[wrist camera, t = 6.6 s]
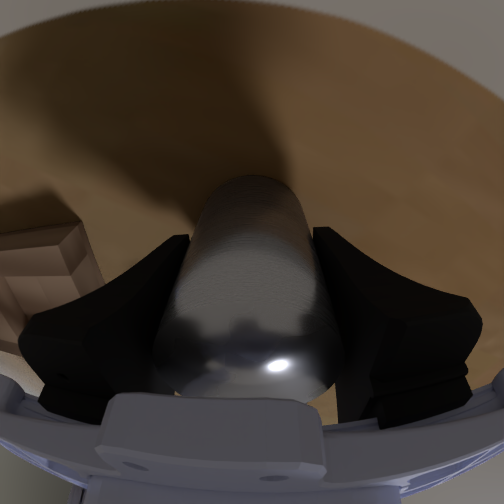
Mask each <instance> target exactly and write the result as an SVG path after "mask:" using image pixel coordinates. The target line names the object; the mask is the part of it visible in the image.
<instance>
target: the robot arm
mask: <svg viewBox="0 0 504 504" xmlns="http://www.w3.org/2000/svg"><path fill="white" fill-rule="evenodd" d="M313 242H314V246H315V249H316V252H317V255H318V258H319V262H320V265H321V268H322V272H323V275H324V278H325V282H326V285H327V289H328V292H329V296H330V299H331V303H332V306H333V310H334V313H335V317H336V321H337V325H338V328H339V332H340V336H341V340H342V344H343V348H344V352H345V362H344V367H343V369H342V372H341V374H340V376H339V377H338V379H337V380H336V382H335V388H336V399H337V411H338V424H333V425H325V426H322V422H321V418H320V416H319V413H318V411H317V409H315V408H313V407H312V406H309V405H307V404H304V403H301V402H299V401H296V400H294V399H282V398H269V397H258V398H216V397H191V396H176V395H174V393H175V390H173V389H172V388H171V387H170V386H169V385H168V384H167V383H166V382H165V381H164V380H163V379H162V378H161V376H160V375H159V373H158V372H157V370H156V367H155V365H154V362H153V357H152V348H153V344H154V340H155V337H156V334H157V331H158V328H159V325H160V322H161V320H162V317H163V314H164V311H165V308H166V305H167V302H168V299H169V297H170V294H171V291H172V288H173V286H174V283H175V280H176V277H177V275H178V272H179V269H180V267H181V264H182V261H183V259H184V256H185V253H186V251H187V248H188V246H189V243H190V239H189V234H184V235H174V236H172V237H170V238H169V239H167V240H166V241H165V242H164V243H162V244H161V245H160V246H158V247H157V248H156V249H155V250H153V251H152V252H151V253H150V254H148V255H147V256H146V257H145V258H143V259H142V260H141V261H139V262H138V263H137V264H135V265H134V266H133V267H131V268H130V269H129V270H127V271H126V272H124V273H123V274H122V275H120V276H118V277H117V278H115V279H114V280H112V281H110V282H109V283H107V284H105V285H104V286H102V287H100V288H98V289H96V290H94V291H92V292H90V293H88V294H87V295H85V296H82V297H80V298H78V299H76V300H73V301H71V302H68V303H66V304H63V305H61V306H58V307H55V308H52V309H49V310H46V311H43V312H40V313H36V314H34V315H33V316H32V317H31V319H30V320H29V322H28V323H27V325H26V326H25V328H24V329H23V331H22V332H21V334H20V335H19V338H18V340H17V341H18V347H19V350H20V352H21V354H22V356H23V357H24V359H25V360H26V362H27V363H28V364H29V366H30V367H31V368H32V369H33V371H34V372H35V373H36V374H37V375H38V377H39V378H40V379H41V380H42V381H43V382H44V384H45V385H44V387H43V390H42V392H41V394H40V396H39V397H36V396H33V395H30V394H28V393H25V392H24V390H23V389H22V388H21V386H20V385H19V384H18V383H17V382H16V381H14V380H13V379H11V378H9V377H7V376H4V375H2V374H0V444H1V445H2V446H3V447H5V448H6V449H8V450H9V451H10V452H12V453H13V454H15V455H17V456H19V457H21V458H22V459H24V460H26V461H28V462H30V463H31V464H33V465H35V466H37V467H39V468H41V469H43V470H45V471H47V472H49V473H51V474H53V475H55V476H57V477H60V478H62V479H64V480H66V481H68V482H71V483H73V485H72V487H71V490H70V494H69V498H68V502H67V504H401V498H404V497H407V496H410V495H413V494H416V493H418V492H421V491H424V490H426V489H429V488H431V487H434V486H436V485H439V484H441V483H443V482H446V481H448V480H450V479H452V478H454V477H456V476H458V475H461V474H463V473H465V472H467V471H469V470H471V469H473V468H475V467H477V466H478V465H480V464H482V463H484V462H486V461H488V460H489V459H491V458H493V457H495V456H496V455H498V454H500V453H501V452H503V451H504V368H503V369H502V370H501V371H500V372H499V373H498V374H497V375H496V376H495V378H494V379H493V381H492V383H490V384H487V385H485V386H482V387H480V388H477V389H475V390H472V391H471V389H470V386H469V384H468V382H467V380H466V377H465V375H467V373H468V368H467V366H466V364H465V361H466V359H467V357H468V356H469V354H470V353H471V351H472V349H473V348H474V346H475V345H476V343H477V341H478V339H479V337H480V335H481V331H482V326H483V323H482V318H481V317H480V315H479V314H478V312H477V310H476V309H475V308H474V306H473V305H472V303H471V302H470V300H469V299H468V298H466V297H462V296H458V295H454V294H450V293H446V292H442V291H439V290H436V289H433V288H430V287H427V286H425V285H422V284H420V283H417V282H415V281H412V280H410V279H408V278H406V277H403V276H401V275H399V274H397V273H395V272H393V271H392V270H390V269H388V268H386V267H384V266H383V265H381V264H379V263H378V262H376V261H374V260H373V259H371V258H370V257H368V256H367V255H365V254H364V253H363V252H361V251H360V250H358V249H357V248H356V247H354V246H353V245H352V244H351V243H349V242H348V241H347V240H345V239H344V238H343V237H342V236H340V235H339V234H338V233H337V232H335V231H334V230H333V229H331V228H330V227H313Z"/></svg>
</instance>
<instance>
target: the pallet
mask: <svg viewBox="0 0 504 504" xmlns="http://www.w3.org/2000/svg"><path fill="white" fill-rule="evenodd" d="M104 285H105V283H104V280H103V278H102V275H101V273H100V270H99V268H98V265H97V263H96V260H95V257H94V255H93V252H92V249H91V246H90V244H89V241H88V238H87V235H86V232H85V229H84V226H83V223H82V221H79V222H72V223H65V224H58V225H51V226H44V227H38V228H32V229H25V230H19V231H14V232H8V233H2V234H0V350H1V351H4V352H7V353H11V354H15V355H18V356H22V354H21V352H20V350H19V347H18V341H17V340H18V338H19V335H20V334H21V332H22V331H23V329H24V328H25V326H26V325H27V323H28V322H29V320H30V319H31V317H32V316H33V315H34V314H36V313H40V312H43V311H46V310H49V309H52V308H55V307H58V306H61V305H63V304H66V303H68V302H71V301H73V300H76V299H78V298H80V297H82V296H85V295H87V294H88V293H90V292H92V291H94V290H96V289H98V288H100V287H102V286H104ZM22 357H23V356H22Z"/></svg>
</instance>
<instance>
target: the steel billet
mask: <svg viewBox="0 0 504 504" xmlns="http://www.w3.org/2000/svg"><path fill="white" fill-rule="evenodd" d="M152 357H153V362H154V365H155V367H156V370H157V372H158V373H159V375H160V376H161V378H162V379H163V380H164V381H165V382H166V383H167V384H168V385H169V386H170V387H171V388H172V389H173V390H175V391H176V392H177V393H179V394H180V395H182V396H191V397H216V398H258V397H269V398H282V399H294V400H296V401H299V402H301V403H304V404H305V403H307V402H309V401H311V400H313V399H315V398H317V397H318V396H320V395H321V394H323V393H324V392H326V391H327V390H328V389H329V388H330V387H331V386H332V385H333V384H334V383H335V382H336V380H337V379H338V377H339V376H340V374H341V372H342V369H343V367H344V362H345V352H344V348H343V344H342V340H341V336H340V332H339V328H338V325H337V321H336V317H335V313H334V310H333V306H332V303H331V299H330V296H329V292H328V289H327V285H326V282H325V278H324V275H323V272H322V268H321V265H320V262H319V258H318V255H317V252H316V249H315V246H314V242H313V239H312V236H311V233H310V230H309V227H308V224H307V221H306V218H305V215H304V212H303V209H302V206H301V204H300V202H299V200H298V198H297V197H296V196H295V194H294V193H293V192H292V191H291V190H290V189H289V188H288V187H286V186H285V185H284V184H282V183H280V182H279V181H277V180H274V179H272V178H268V177H264V176H257V175H248V176H241V177H237V178H234V179H232V180H229V181H227V182H225V183H224V184H222V185H221V186H219V187H218V188H217V189H216V190H215V191H214V192H213V193H212V194H211V195H210V197H209V198H208V200H207V202H206V204H205V206H204V208H203V211H202V213H201V216H200V218H199V221H198V223H197V226H196V228H195V231H194V233H193V236H192V238H191V241H190V243H189V246H188V248H187V251H186V253H185V256H184V259H183V261H182V264H181V267H180V269H179V272H178V275H177V277H176V280H175V283H174V286H173V288H172V291H171V294H170V297H169V299H168V302H167V305H166V308H165V311H164V314H163V317H162V320H161V322H160V325H159V328H158V331H157V334H156V337H155V340H154V344H153V348H152Z"/></svg>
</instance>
